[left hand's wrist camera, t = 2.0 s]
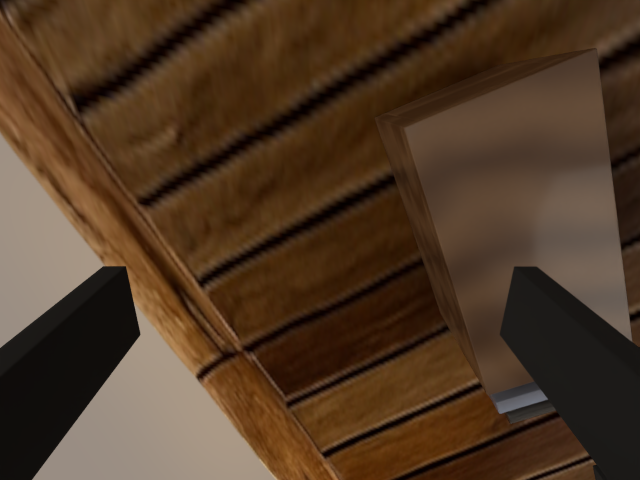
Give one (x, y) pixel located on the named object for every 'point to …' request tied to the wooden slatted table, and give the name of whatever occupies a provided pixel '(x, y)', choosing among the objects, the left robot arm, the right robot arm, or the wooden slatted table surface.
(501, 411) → the drawer
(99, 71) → the wooden slatted table surface
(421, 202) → the cabinet
